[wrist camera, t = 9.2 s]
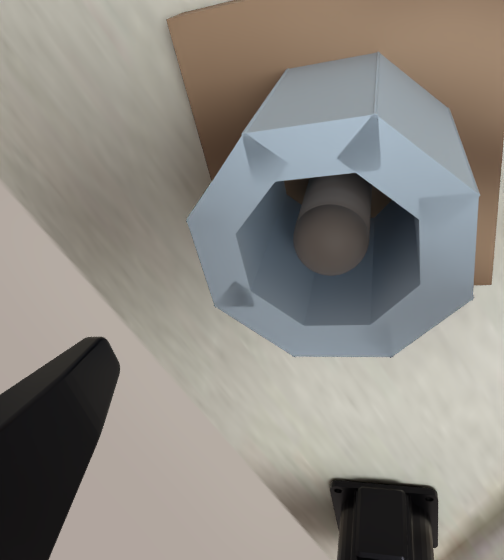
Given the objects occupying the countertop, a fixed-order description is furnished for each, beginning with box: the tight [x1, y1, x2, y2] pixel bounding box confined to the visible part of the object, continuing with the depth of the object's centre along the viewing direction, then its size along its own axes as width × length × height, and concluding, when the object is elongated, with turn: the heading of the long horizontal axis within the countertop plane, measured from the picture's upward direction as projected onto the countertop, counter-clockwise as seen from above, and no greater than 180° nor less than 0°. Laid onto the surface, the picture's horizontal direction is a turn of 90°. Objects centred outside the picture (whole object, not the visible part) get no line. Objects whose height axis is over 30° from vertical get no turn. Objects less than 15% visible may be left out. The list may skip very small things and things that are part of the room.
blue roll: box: [186, 52, 480, 358], centre depth 14 cm, size 7×7×6 cm
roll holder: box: [167, 0, 504, 285], centre depth 15 cm, size 11×10×8 cm
